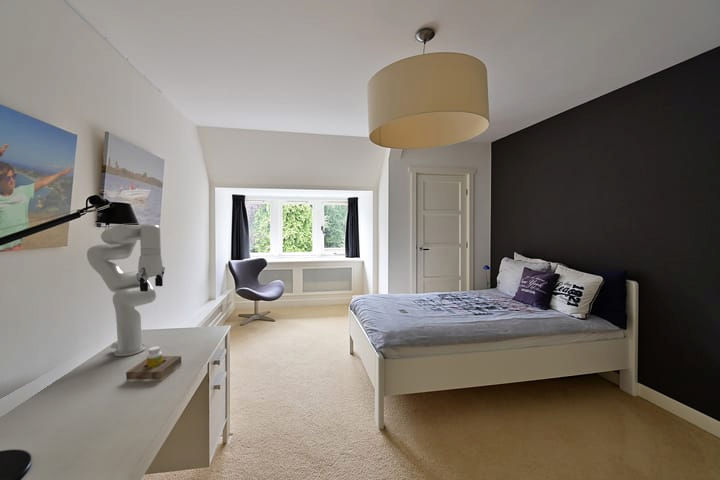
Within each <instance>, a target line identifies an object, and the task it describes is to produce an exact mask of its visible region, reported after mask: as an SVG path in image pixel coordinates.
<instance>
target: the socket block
mask: <svg viewBox="0 0 720 480" xmlns="http://www.w3.org/2000/svg"><path fill="white" fill-rule="evenodd" d="M162 358H163V364H161V365H160V366H159V367H147V358H146V359H144V360H142V361H140V362H139V363H138V364H136V365H135V366H133V367H132V368H130V369H129V370H127V371H126V372H125V375H126V379H125V380H126V382H127V383H128V382H129V383H130V382H131V383H132V382H133V383H134V382H139V383H140V382H162V381H164V380H165V379H166V378H168V377H169V376H170V375H171V374H172V373H173V372H174V371H176V370H177V369H178V368H180V366H182V365H183V364H182V355H176V356H175V355H173V356H172V355H171V356H170V355H166V356H164V355H162Z"/></svg>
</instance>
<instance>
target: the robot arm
mask: <svg viewBox="0 0 720 480" xmlns="http://www.w3.org/2000/svg"><path fill="white" fill-rule="evenodd" d="M124 224H125V223H121V224H116V225H114V226H113V227H110V228H106V229H104V230H103V231H102V232H101V235H100V239H101V240H102V242H103V243H105V244H98V245H94V246H90V247H89V248H88V250H87V251H86V252H87V253H86V259H87V261H88V263H89V265H90V266H91V268H92V269H93V270H94V271H95V272H96V273H98V274H99V276H100V277H101V278H102V280H103V282H104V283H105V285H106V287H107V288H108V289H109V291H111V293H114V294H113V295H112V302H113V303H112V304H113V306H114V310H115V311H114V312H115V319H116V321H115V322H116V337H117V338H116V339H117V342H113V343H112V344H111V345H110V349H115V350H114V352H113V354H114V356H115V357H128V356H132V355H136V354H139V353H141V352H143V351H145V350H146V348H147V345H146V344H145V343H143V340H142V337H143V336H142V319H141V318H142V317H141V313H140V312H139V311H138V310H137V309H136V308H135V307H139V306H143V305H148V304H151V303H153V302H154V301H155V300H156V298H157V294H156V290H155V288H154V287H153V285H152V284H151V282H150V281H149V278H153V277H155V278H154V283H155V284H154V285H155V287H163V286H164V285H163V283H164V281H163V280H164V279H163V278H164V274H165V270H166V267H164V266H163V260H162V255H161V254H162V251H161V247H162V246H161V244H162V243H161V227H160V225H157V224H151V223H138V224H139V225H124ZM137 241H140V244H139V245H140V255H139V258H138V265H137V268H138V269H137V271H130V272H125V271H123V270H122V268H121V267H120V266H119V265H117V264H116V263H114V262H113V261H117V260H125V259H128V258H129V257H130V256H131V254H132V253H133V250H134V248H135V246H136V244H137Z"/></svg>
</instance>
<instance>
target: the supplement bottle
mask: <svg viewBox="0 0 720 480" xmlns="http://www.w3.org/2000/svg"><path fill="white" fill-rule="evenodd" d="M162 356H163V352H162V351H161V347H160V346H158V345H157V346H156V345H155V346H152V347H150V348H148V354H147V355H146V359H147V367H159V366H160V365H161V364H163V358H162Z"/></svg>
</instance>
